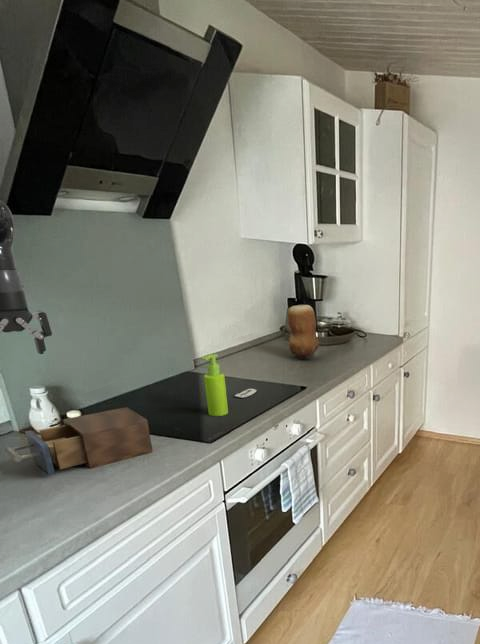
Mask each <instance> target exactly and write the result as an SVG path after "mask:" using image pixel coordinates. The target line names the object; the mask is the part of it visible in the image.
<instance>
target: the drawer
mask: <svg viewBox="0 0 480 644" xmlns="http://www.w3.org/2000/svg"><path fill="white" fill-rule="evenodd" d="M38 431H39V435H40V436H39V435H38V434H36V432H34V431H33V430H32V429H29V430H25V431H24V432H25V436H26V440H27V444H24V445H21V446H15V447H11V446H7V447H5V449H4V451H5V453H6V454H7V455H8V456H9V457H10V458H11V459H12V460H13V461H14V462H17V463H19V462H21V461H22V460H25V459H28V458H32V460H33V461H34V462H35V463H36V464H37V465H38V467H40V468H41V469H42V470H43V471H44V472H45V473H46V474H47V475H48V476H50V475H53V474H56V473H55V468H54V465H55V466H56V467H57V468H58V469H59V470H65V469H68V468H71V467H75V466H79V465H83V464H84V463H88V461H87V457H86V453H85V448H84V444H83V440H82V436H81V435H80V434H79V433H77V432H76V431H75V430H73V429H72V428H71V427H70V426H68V425H65V424H63V425H59V426H54V427H48V428H44V429H40V430H39V429H38ZM64 437H65V438H66V439H62V440H58V441H53V446H54V450H55V454H56V458H57V463H52V460H51V456H50V452H49V448H48V444H47V443H45V441H50V440H55V439H60V438H64ZM24 449H29V450H30V453H28V454H24V455H20V454H19V453H18V452H17V451H20V450H24ZM84 465H85V464H84Z"/></svg>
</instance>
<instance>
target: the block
mask: <svg viewBox="0 0 480 644" xmlns="http://www.w3.org/2000/svg"><path fill="white" fill-rule="evenodd" d="M62 439H66V438H65V437H64V438H60V439H55V440H50V441H45V443H47V444H48V448H49V452H50V456H51V460H52V464H54V463H57V458H56V454H55V450H54V446H53V441H58V440H62Z"/></svg>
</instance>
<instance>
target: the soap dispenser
mask: <svg viewBox="0 0 480 644" xmlns="http://www.w3.org/2000/svg"><path fill="white" fill-rule="evenodd" d="M218 356H219V355H218V354H216V353H209V354H206V355H203V356H201V357H200V360H203V361H207V360H209V363H208V364H207V365H206V367H207V373H206V374H205V373H204V375H203V379H204V386H205V387H204V388H205V395H206V405H207V412H208V413H207V414H208V415H209V416H210V417H211V416H212V417H222V416H226V415H227V414H229V407H228V397H227V396H228V395H227V385H226V378H225V373H223V372H221V370H220V364H219V363H217V361H216V358H217V357H218Z"/></svg>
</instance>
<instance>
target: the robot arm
mask: <svg viewBox="0 0 480 644" xmlns="http://www.w3.org/2000/svg"><path fill="white" fill-rule="evenodd" d="M14 235H15V222H14V216H13V214H12V211H11V210H10V208H9V206H8V205H7V204H6V202H5V201H3V200H2V199H0V334H1V333H2V332H3V333H12V332H17V333H18V332H23V331H25V330H26V331H27V332H28V333H30V335H32V336H34V338H33V340H34V344H35V348H36V351H37V353H38V354H39V355H44V352H46V350H47V347H46V343H45V339H46V338H47V337H51V336H52V335H53V333H52V329H51V326H50V323H49V319H48V316H47V313H46V312H44V311H42V310H37V311H35V312H34V311H33V312H30V310H29V308H28V303H27V298H26V294H25V290H24V284H23V281H22V278H21V275H20V273H19V270H18V267H17V263H16V259H15V254H14V249H13V248H14V239H15V237H14ZM33 318H34V319H35V321H37V322H39V324H40V328H41V331H38V330H37V329H35V327H33V326H32V325H30V322H31V321H32V320H33Z"/></svg>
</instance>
